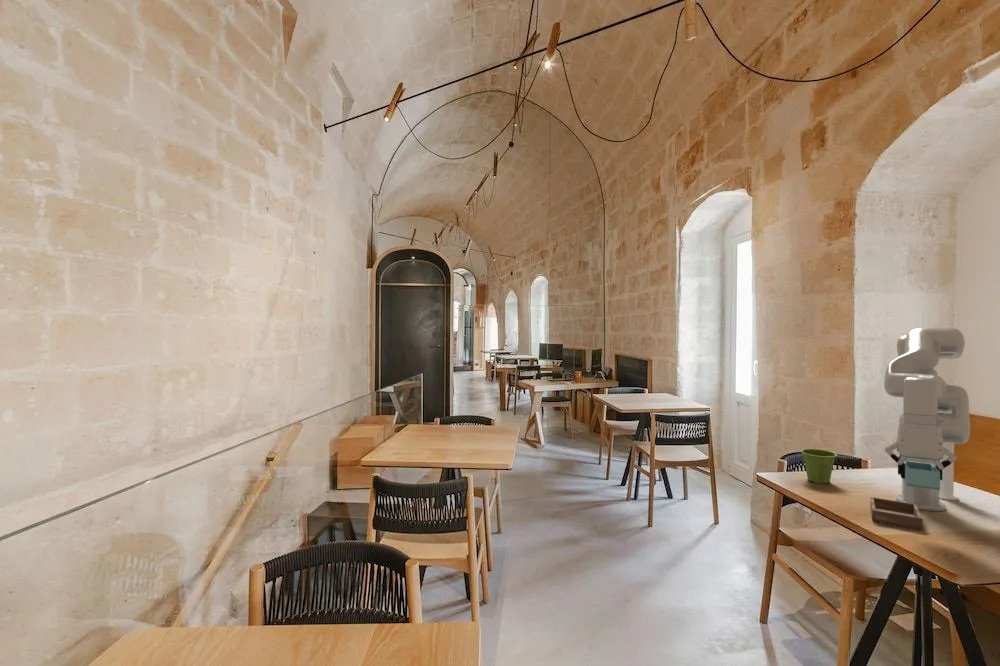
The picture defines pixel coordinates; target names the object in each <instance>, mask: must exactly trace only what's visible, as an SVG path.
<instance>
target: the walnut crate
mask: <svg viewBox="0 0 1000 666" xmlns="http://www.w3.org/2000/svg"><path fill="white" fill-rule="evenodd" d="M869 502H870V506H869V509H870V508H871V509H870V514H871V515H870V516H871V521H876V522H875V523H878V522H882V523H881V524H883V523H886V524H885V525H889V524H891V525H890V526H894V525H896V526H895V527H899V526H901V528H905V527H906V529H910V528H912V529H913V530H917V531H923V518H922V515H921V512H920V509H918V507H917V505H916V504H912V503H906V502H900V501H896V500H892V499H887V498H880V497H874V496H870V500H869ZM912 529H911V530H912Z"/></svg>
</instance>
